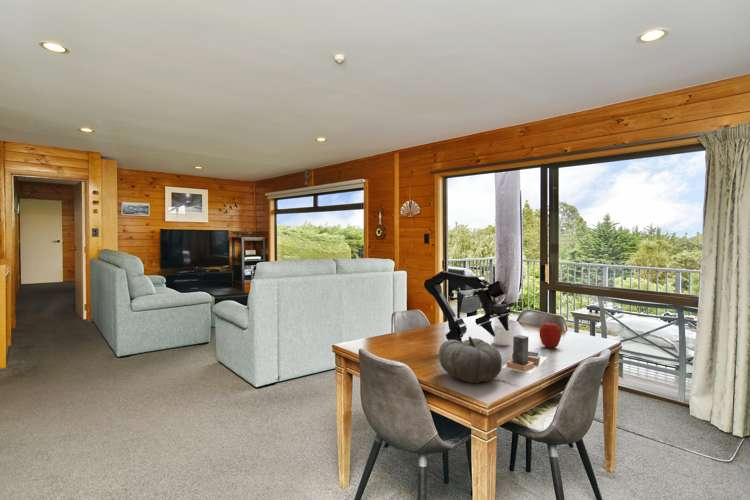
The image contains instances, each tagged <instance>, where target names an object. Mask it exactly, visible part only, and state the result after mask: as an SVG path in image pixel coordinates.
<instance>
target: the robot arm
mask: <svg viewBox="0 0 750 500" xmlns="http://www.w3.org/2000/svg"><path fill="white" fill-rule="evenodd" d="M445 281H451V282H455V283H459V284H464V285H466V286H467V287H469V288H471V289H474V291H473V294H472V297H476V296H477V297H478V301H479V302H480V304H481V306H480V309H483V311H484V315H483V316H480V317H477V318H475V321H474V323H475V324H476V326H479V327H481V328H483V330H486V332H488V333H489V335H491V336H492V337H493V338H494V336H495V333H494V328H493V325H492V320H491V319H495V318H496V317H497V319H498V320H499V322H500V324H502V325H503V327H504V328H505V330H506V331H508V330H509V329H508V325H509V320H508V318H509V315H511V313H512V310H511V308H510V307H509V303H508V301H507V300H503V301H501V302H500V303H498V302H497V301H496V300H494V299H497V298H499V297H501V296H504V295H506V294H508V290H507V287H506V285H505V284H504V283H503V282H502V281H501V280H497V281H494V282H493V283H491V282H489V281H488V280H486V278H485V277H484V276H483V275H465V274H464V275H463V274H460V273H456V272H451V271H448V270H442V271H439V273H437V274H435V275H434V276H432V277H431V278H428V279H426V280H425V281H424V284H423V287H424V289H425V290H426V291H427V292H428V293H429V294H430V295H431V296H432V297H433V298H434V300H435V301H436V303H437V305H438V306H439V308H440V310H441V312H442V314H443V316H445V318H446V320H447V324H448V330H449V331H447V333H446V334H445V339H446V340H447V341H448V340H457V341H460V342H463V337H464V335H465V334H466V333H467V324H466V323H465V321H464V319H463V318H462V317H461V318H458V317H457V316H456V314H455V312H454V310H453V309H452V306H450V303H449V302H448V300H447V298H446V297H445V295H444V293H443V291H442V289H443V288H442V283H444V282H445ZM478 289H479V290H478ZM493 298H494V299H493Z"/></svg>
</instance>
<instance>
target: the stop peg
mask: <svg viewBox="0 0 750 500" xmlns="http://www.w3.org/2000/svg"><path fill="white" fill-rule="evenodd" d="M512 337H513V340H512V341H513V342H512V344H513V345H512V346H513V347H512V354H513V363H516V364H520V365H526V364H528V351H529V336H527V335H521V334H517V335H514V336H512Z"/></svg>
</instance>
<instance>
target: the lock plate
mask: <svg viewBox="0 0 750 500" xmlns="http://www.w3.org/2000/svg"><path fill="white" fill-rule="evenodd" d="M547 359H548V356H542V355H540V361H539V357H534V356H528V361H530V362H534V367H533V368H531V369H528V370H526V371H522V370H518V369H515V368H511V367H508V366H507V363H505V364H504V365H503V366H501V369H505V370H511V371H515V372H520V373H524V374H529V375H531V374H533V372H534V371H535V370H536V369H537V368H538V367H540V365H541V364H543V363H544V362H545V361H546V360H547ZM511 360H513V353H512V355H511Z"/></svg>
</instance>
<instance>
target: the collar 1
mask: <svg viewBox="0 0 750 500" xmlns="http://www.w3.org/2000/svg"><path fill="white" fill-rule="evenodd" d="M506 364H507V366H508V367H511V368H515V369H518V370H522V371H526V370H528V369H531V368H533V367H534V362H530V361H528V364H526V365H520V364H516V363H513V360H512V359H511V360H508V361H506Z"/></svg>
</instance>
